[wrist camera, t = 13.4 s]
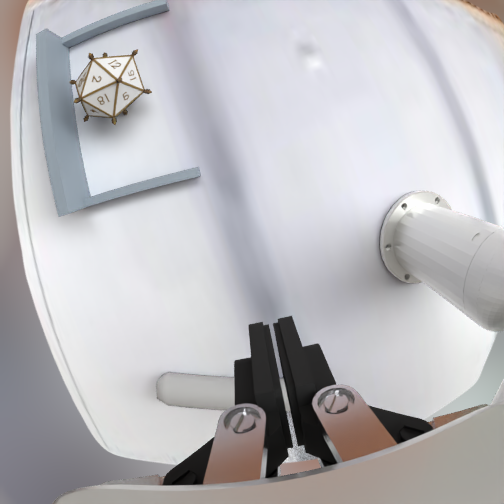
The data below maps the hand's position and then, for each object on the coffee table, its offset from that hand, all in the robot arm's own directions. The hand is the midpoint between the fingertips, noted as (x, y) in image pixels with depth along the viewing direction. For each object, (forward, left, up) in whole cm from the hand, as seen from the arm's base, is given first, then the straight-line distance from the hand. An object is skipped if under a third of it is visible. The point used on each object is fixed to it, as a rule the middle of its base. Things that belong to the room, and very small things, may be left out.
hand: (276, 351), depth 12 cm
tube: (+6, +23, -26) cm, 35 cm away
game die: (+12, -19, -25) cm, 34 cm away
